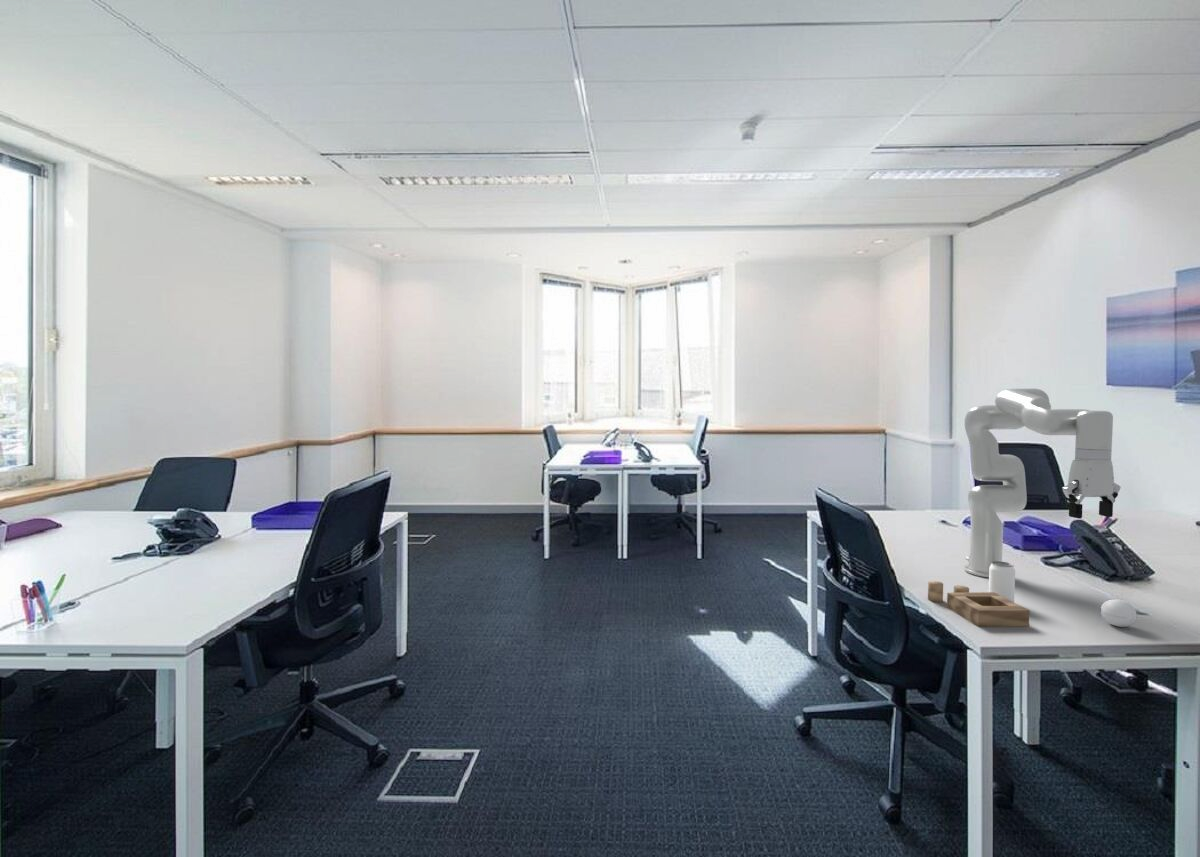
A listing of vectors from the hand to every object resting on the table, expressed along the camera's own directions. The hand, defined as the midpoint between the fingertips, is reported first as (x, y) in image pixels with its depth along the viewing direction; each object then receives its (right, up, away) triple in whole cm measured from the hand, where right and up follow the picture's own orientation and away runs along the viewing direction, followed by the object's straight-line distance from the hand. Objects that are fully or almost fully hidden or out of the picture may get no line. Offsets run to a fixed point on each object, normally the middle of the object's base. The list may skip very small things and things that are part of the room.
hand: (1090, 516), depth 154 cm
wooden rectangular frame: (-24, -30, +7) cm, 39 cm away
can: (-12, -29, +18) cm, 36 cm away
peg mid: (-31, -29, +20) cm, 47 cm away
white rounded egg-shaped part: (+6, -30, -1) cm, 31 cm away
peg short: (-23, -29, +20) cm, 42 cm away
